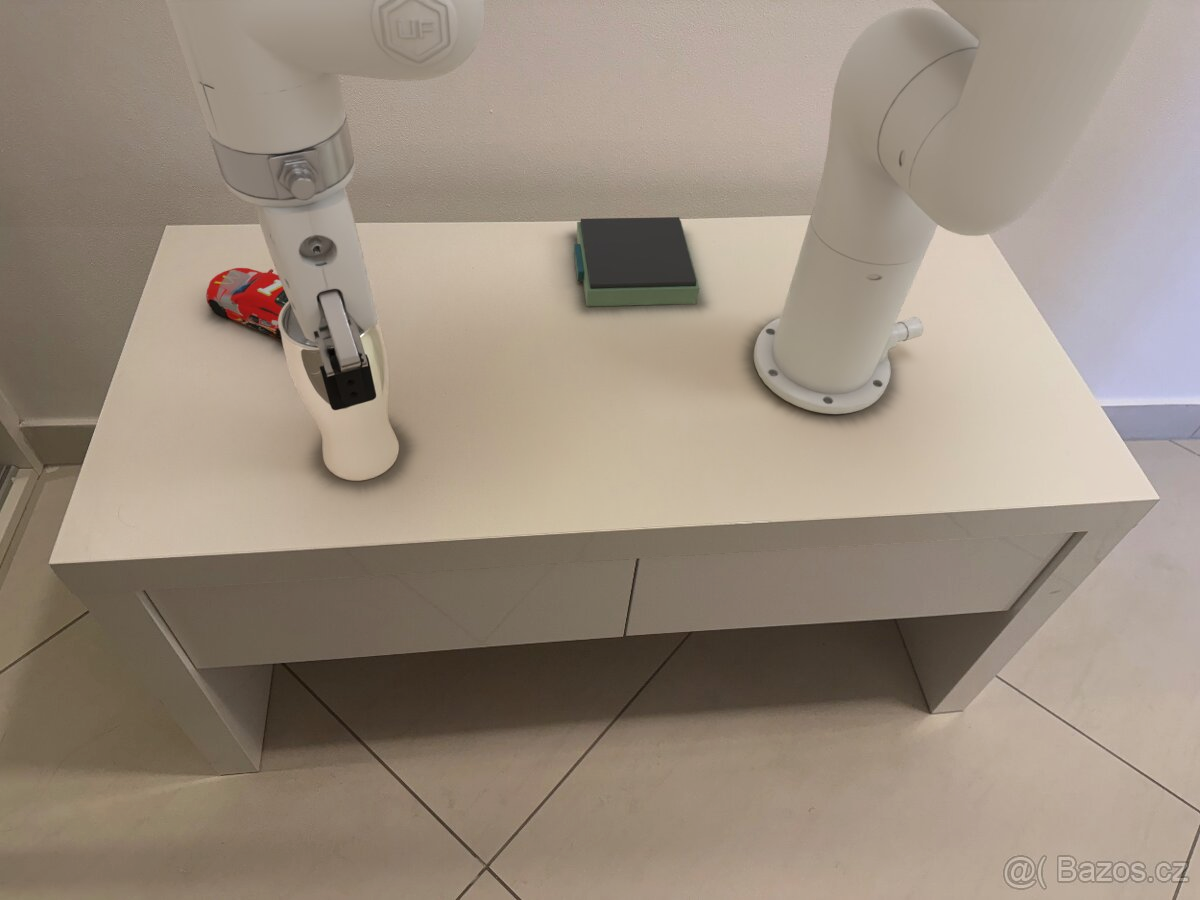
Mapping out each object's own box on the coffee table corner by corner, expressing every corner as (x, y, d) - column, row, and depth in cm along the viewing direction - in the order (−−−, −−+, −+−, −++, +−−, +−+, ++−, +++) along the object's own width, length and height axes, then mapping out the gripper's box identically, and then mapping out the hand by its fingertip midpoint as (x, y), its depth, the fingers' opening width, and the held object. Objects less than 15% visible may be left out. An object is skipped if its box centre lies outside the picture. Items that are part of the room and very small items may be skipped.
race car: (199, 309, 81) (185, 275, 78) (239, 277, 84) (228, 243, 81) (310, 359, 77) (300, 326, 74) (348, 324, 80) (341, 291, 77)
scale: (678, 235, 92) (681, 215, 90) (696, 303, 85) (700, 283, 83) (570, 237, 91) (571, 216, 89) (580, 307, 84) (581, 286, 82)
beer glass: (387, 493, 68) (355, 359, 57) (304, 476, 69) (256, 340, 57) (416, 429, 73) (392, 292, 61) (338, 414, 73) (300, 275, 62)
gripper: (392, 219, 46) (425, 434, 60) (314, 67, 55) (358, 282, 69) (247, 251, 44) (317, 467, 57) (192, 86, 53) (263, 305, 67)
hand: (339, 365), depth 63 cm, fingers closed on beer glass, 7 cm apart
